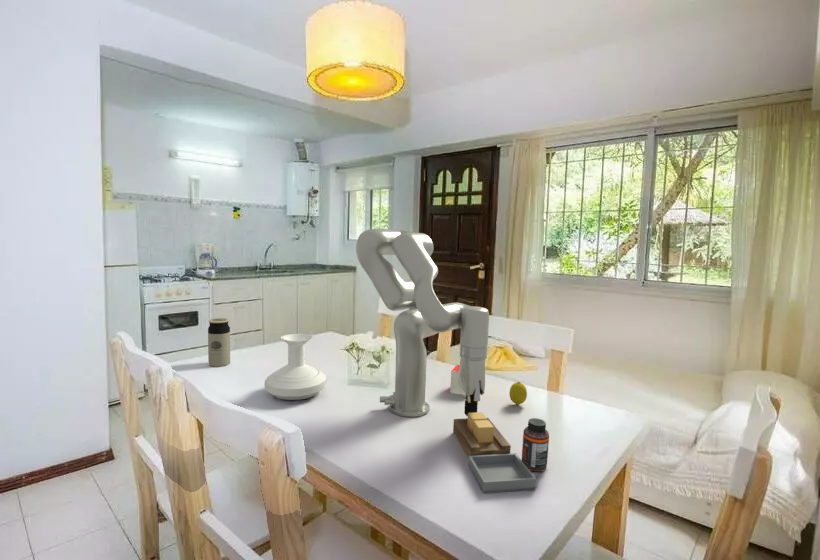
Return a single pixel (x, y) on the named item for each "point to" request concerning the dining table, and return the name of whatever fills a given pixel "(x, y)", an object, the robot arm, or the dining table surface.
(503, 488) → the tray
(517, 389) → the lemon
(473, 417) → the yellow cube
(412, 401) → the robot arm
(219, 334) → the travel mug
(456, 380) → the red patterned box
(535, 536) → the dining table surface
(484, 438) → the yellow wooden cube
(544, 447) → the supplement bottle
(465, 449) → the slot block
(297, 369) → the white vase
